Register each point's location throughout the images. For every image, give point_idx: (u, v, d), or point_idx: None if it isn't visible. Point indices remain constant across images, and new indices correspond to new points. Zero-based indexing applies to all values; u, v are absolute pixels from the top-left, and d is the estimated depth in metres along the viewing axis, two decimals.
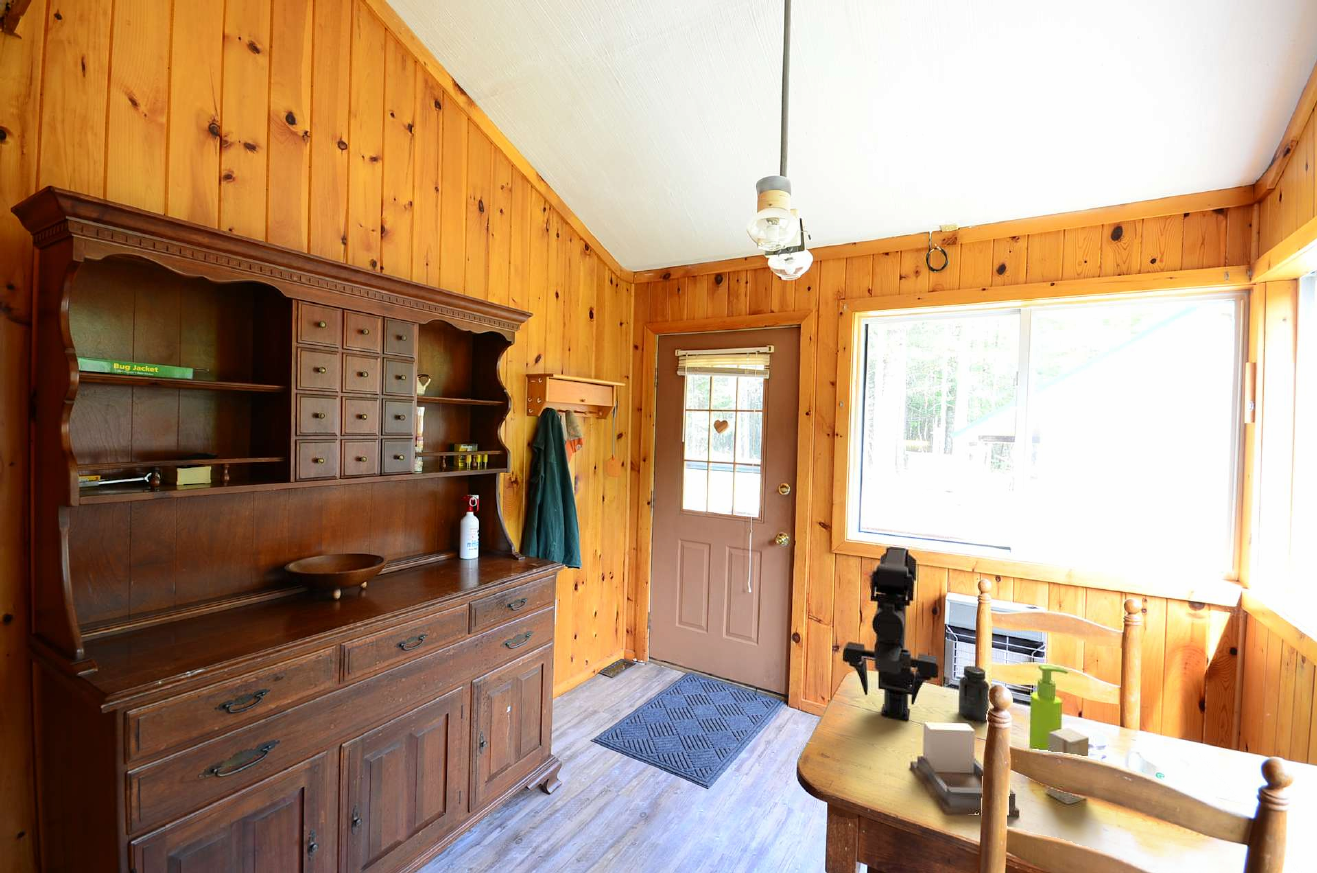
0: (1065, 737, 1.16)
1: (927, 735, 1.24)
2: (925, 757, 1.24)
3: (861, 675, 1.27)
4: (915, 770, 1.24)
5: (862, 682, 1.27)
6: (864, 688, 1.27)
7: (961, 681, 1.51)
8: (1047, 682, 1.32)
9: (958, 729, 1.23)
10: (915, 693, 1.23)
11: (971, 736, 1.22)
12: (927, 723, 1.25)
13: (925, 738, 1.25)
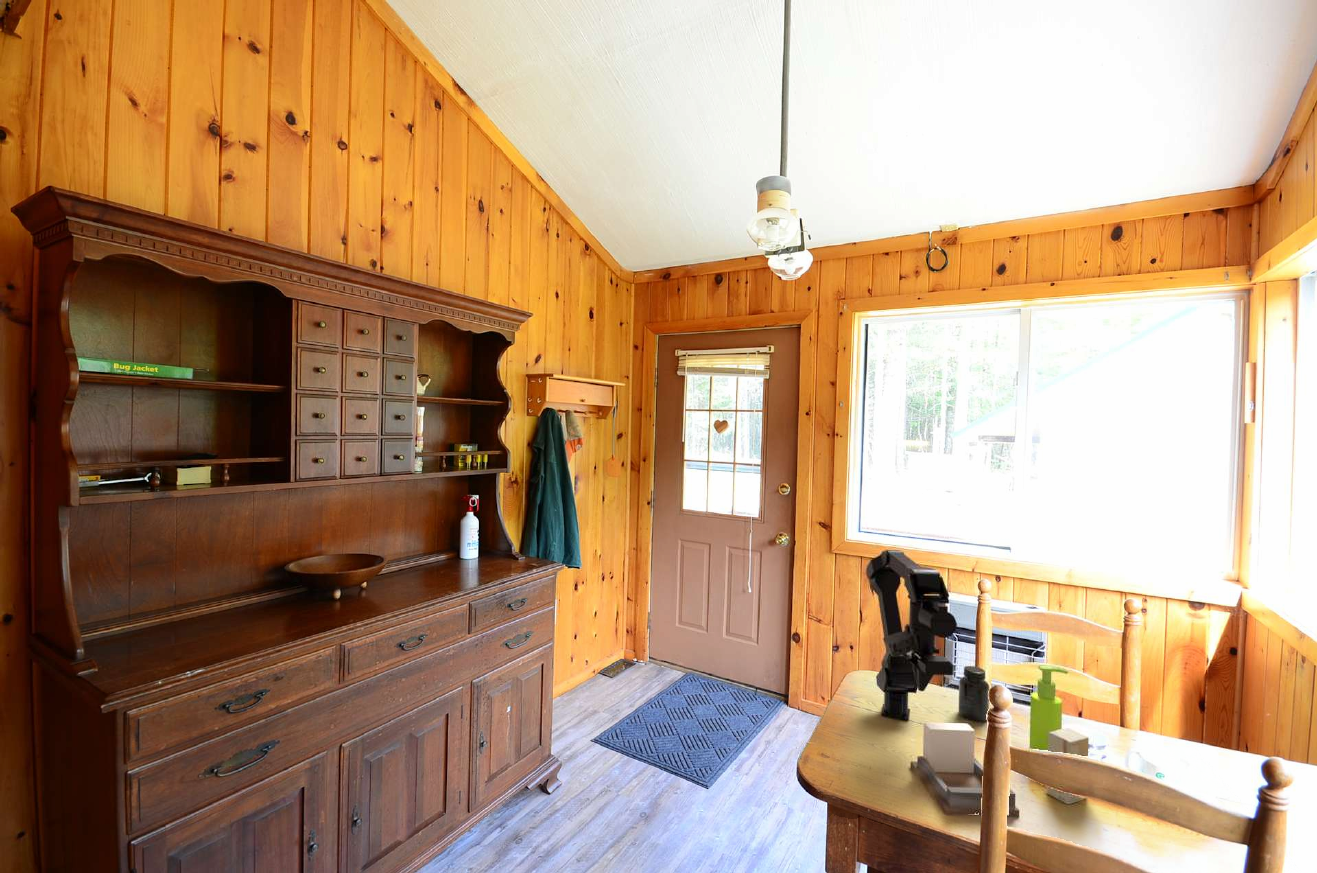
0: (1065, 737, 1.16)
1: (927, 735, 1.24)
2: (925, 757, 1.24)
3: (913, 669, 1.38)
4: (915, 770, 1.24)
5: (915, 676, 1.38)
6: (916, 682, 1.38)
7: (961, 681, 1.51)
8: (1047, 682, 1.32)
9: (958, 729, 1.23)
10: (918, 680, 1.36)
11: (971, 736, 1.22)
12: (927, 723, 1.25)
13: (925, 738, 1.25)
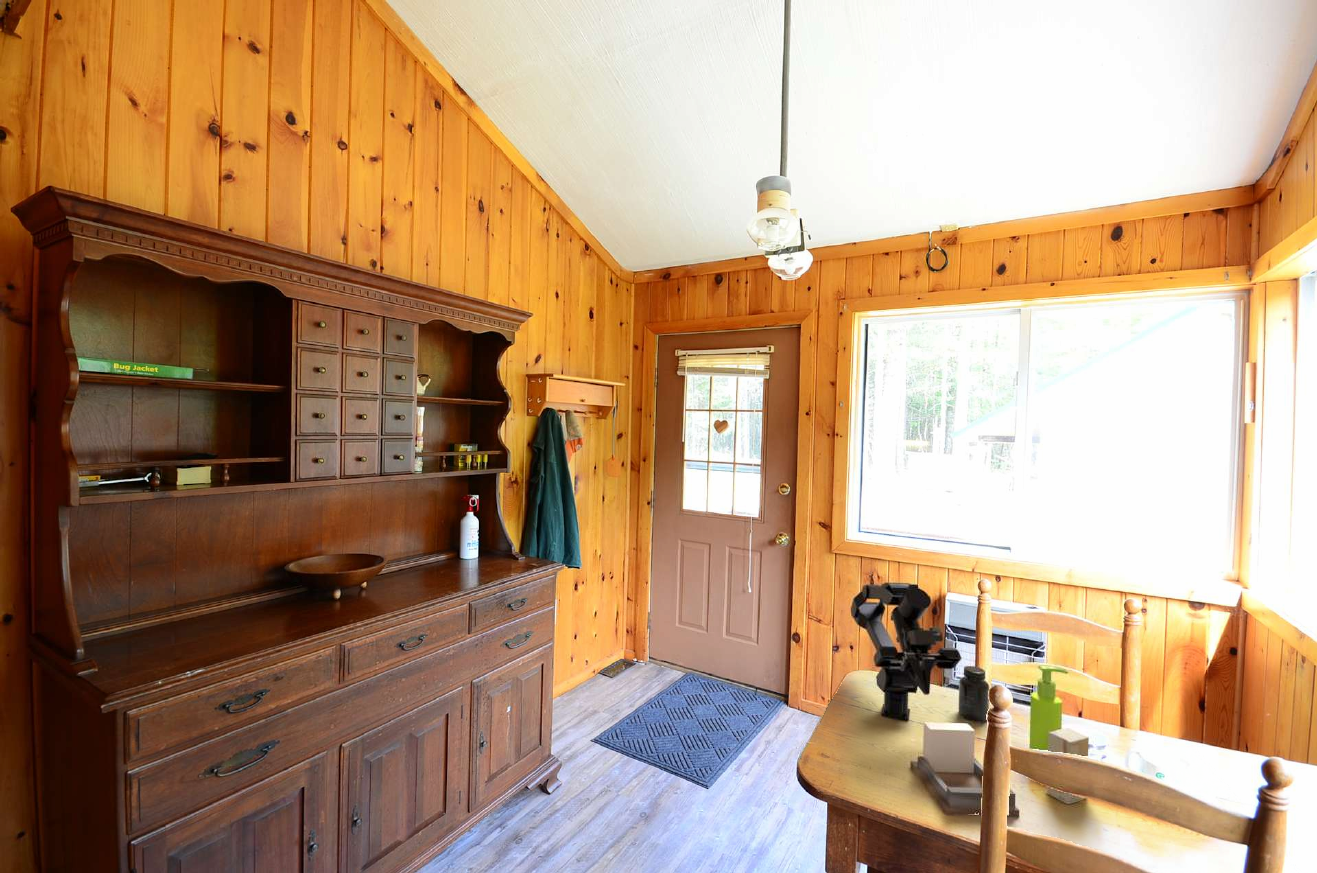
0: (1065, 737, 1.16)
1: (927, 735, 1.24)
2: (925, 757, 1.24)
3: (918, 672, 1.36)
4: (915, 770, 1.24)
5: (920, 679, 1.35)
6: (924, 685, 1.35)
7: (961, 681, 1.51)
8: (1047, 682, 1.32)
9: (958, 729, 1.23)
10: (928, 680, 1.35)
11: (971, 736, 1.22)
12: (927, 723, 1.25)
13: (925, 738, 1.25)
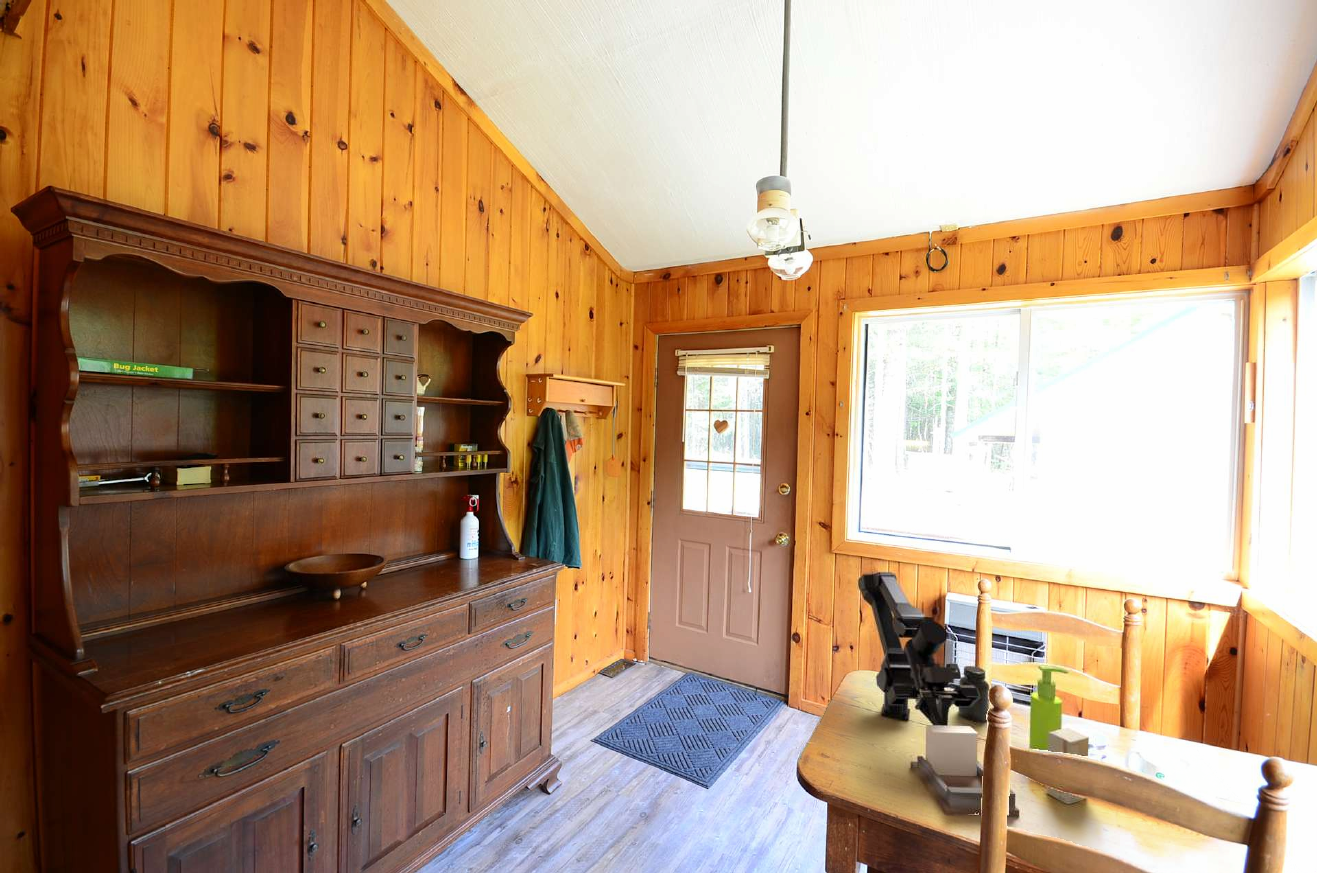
0: (1065, 737, 1.16)
1: (930, 738, 1.23)
2: (928, 760, 1.23)
3: (935, 711, 1.28)
4: (915, 770, 1.24)
5: (937, 719, 1.27)
6: None
7: (961, 681, 1.51)
8: (1047, 682, 1.32)
9: (961, 732, 1.22)
10: (946, 721, 1.27)
11: (974, 738, 1.21)
12: (930, 726, 1.24)
13: (927, 741, 1.23)
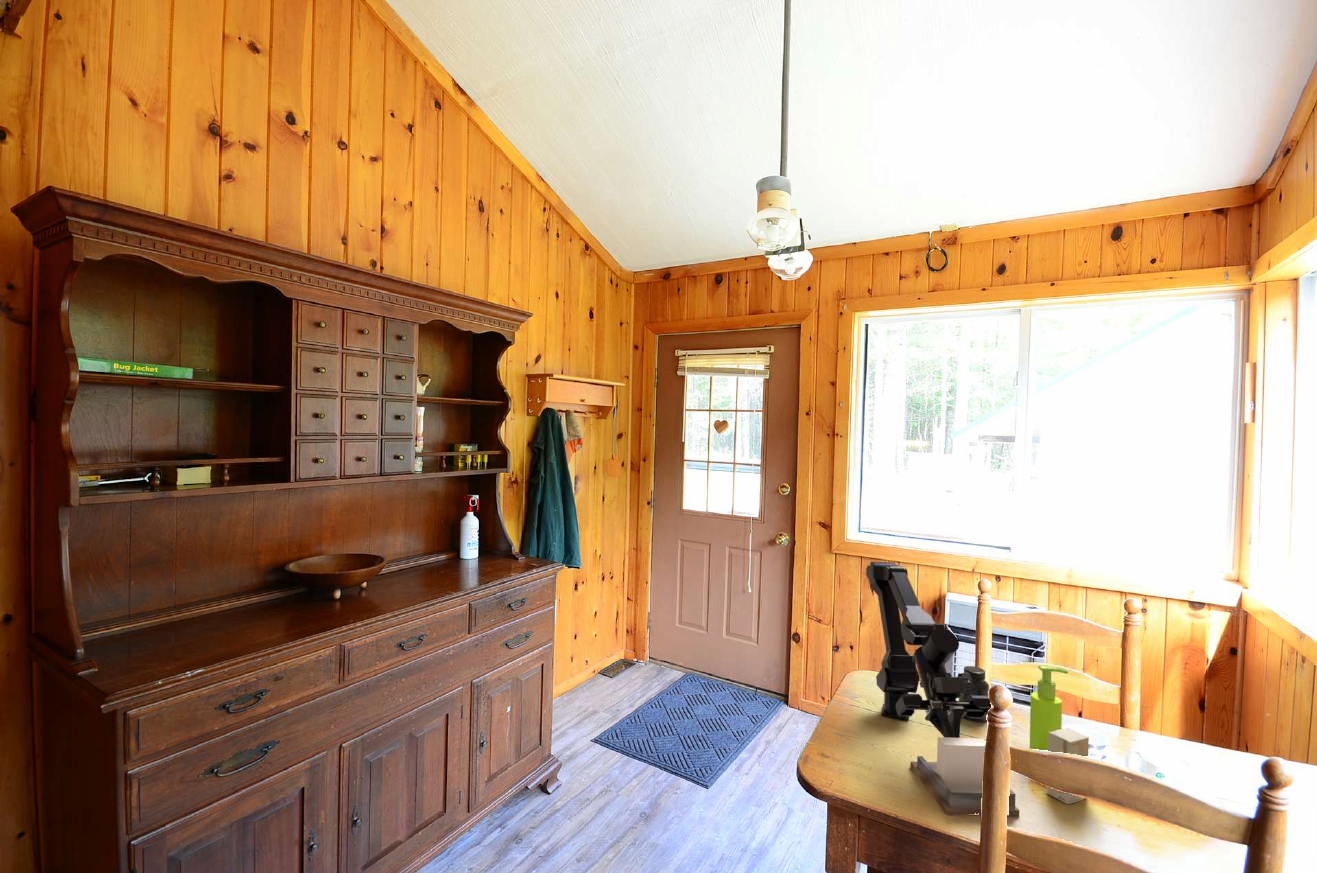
0: (1065, 737, 1.16)
1: (941, 751, 1.17)
2: (939, 774, 1.18)
3: (946, 723, 1.23)
4: (915, 770, 1.24)
5: (949, 732, 1.22)
6: None
7: None
8: (1047, 682, 1.32)
9: (974, 745, 1.16)
10: (957, 733, 1.22)
11: None
12: (941, 738, 1.19)
13: (939, 754, 1.18)
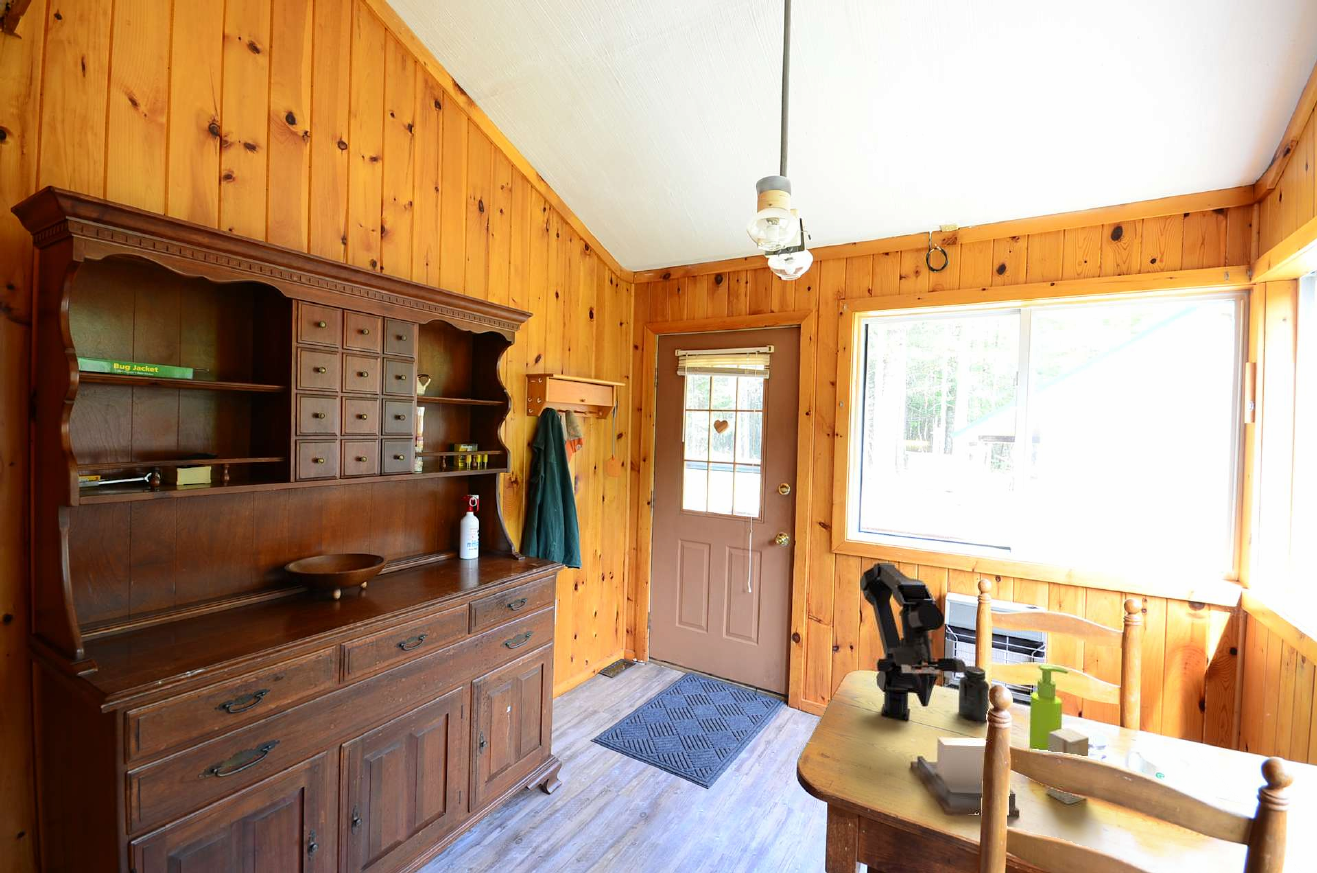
0: (1065, 737, 1.16)
1: (941, 751, 1.17)
2: (939, 774, 1.18)
3: (914, 684, 1.36)
4: (915, 770, 1.24)
5: (917, 692, 1.35)
6: (920, 698, 1.34)
7: (961, 681, 1.51)
8: (1047, 682, 1.32)
9: (974, 745, 1.16)
10: (924, 693, 1.34)
11: None
12: (941, 738, 1.19)
13: (939, 754, 1.18)
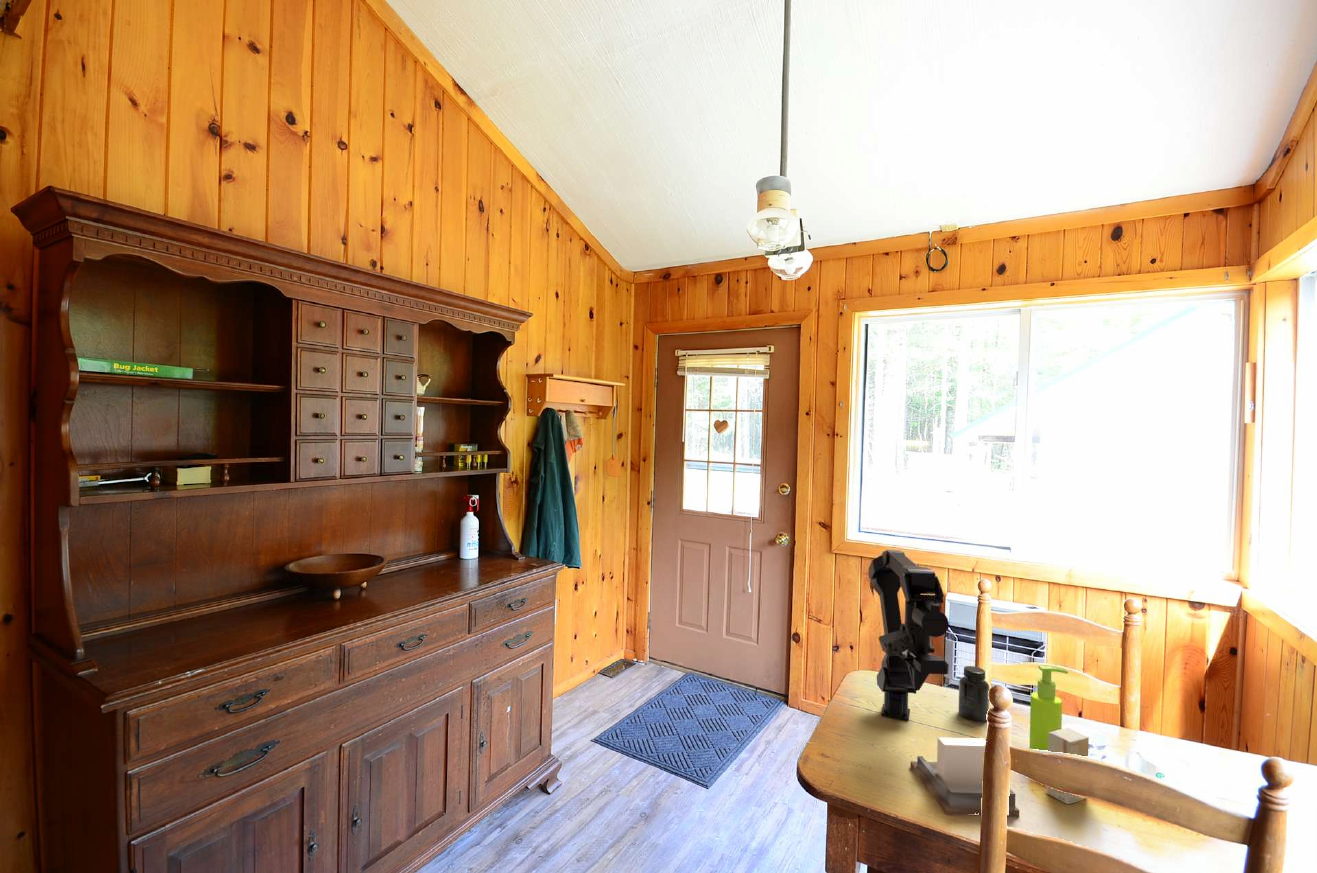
0: (1065, 737, 1.16)
1: (941, 751, 1.17)
2: (939, 774, 1.18)
3: (909, 668, 1.39)
4: (915, 770, 1.24)
5: (910, 675, 1.39)
6: (912, 681, 1.38)
7: (961, 681, 1.51)
8: (1047, 682, 1.32)
9: (974, 745, 1.16)
10: (913, 679, 1.37)
11: None
12: (941, 738, 1.19)
13: (939, 754, 1.18)
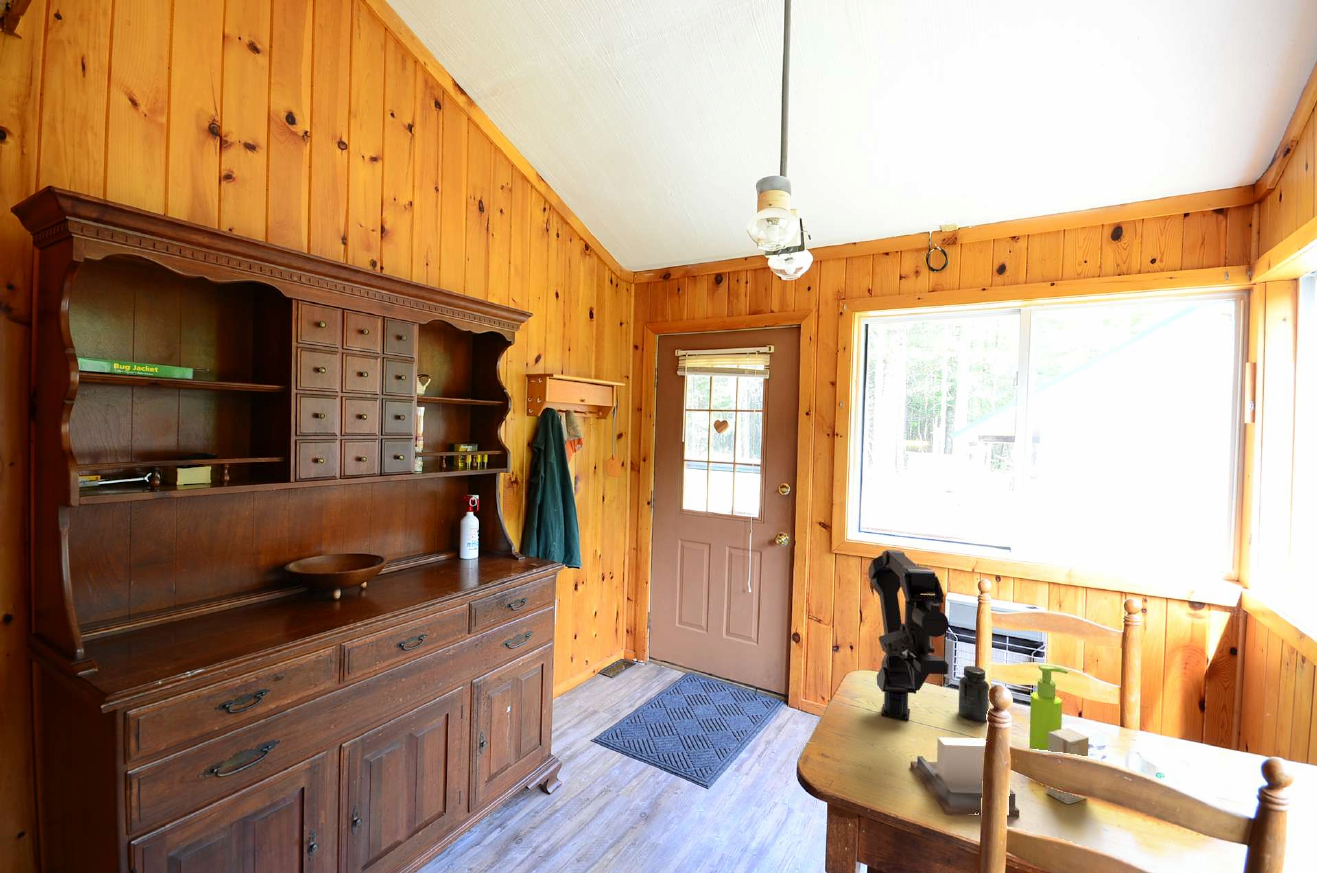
0: (1065, 737, 1.16)
1: (941, 751, 1.17)
2: (939, 774, 1.18)
3: (909, 668, 1.39)
4: (915, 770, 1.24)
5: (910, 675, 1.39)
6: (912, 681, 1.38)
7: (961, 681, 1.51)
8: (1047, 682, 1.32)
9: (974, 745, 1.16)
10: (913, 679, 1.37)
11: None
12: (941, 738, 1.19)
13: (939, 754, 1.18)
